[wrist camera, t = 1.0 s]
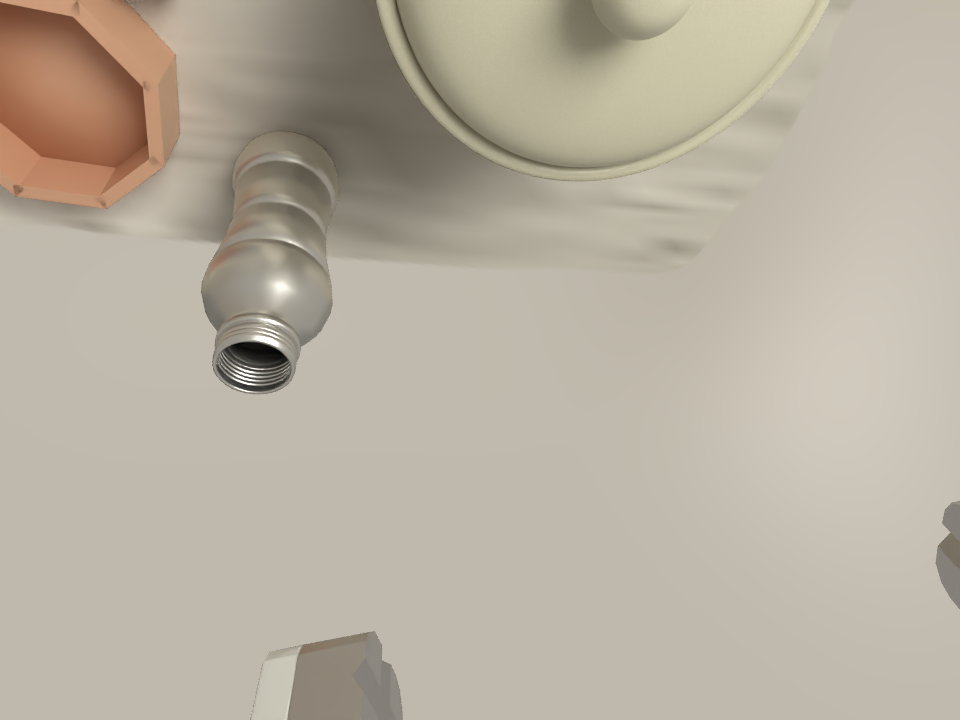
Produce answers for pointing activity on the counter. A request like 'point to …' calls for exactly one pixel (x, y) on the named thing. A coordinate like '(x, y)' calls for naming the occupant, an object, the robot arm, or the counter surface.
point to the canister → (592, 74)
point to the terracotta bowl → (83, 100)
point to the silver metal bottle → (272, 262)
